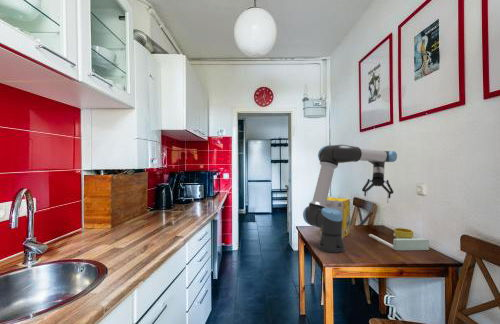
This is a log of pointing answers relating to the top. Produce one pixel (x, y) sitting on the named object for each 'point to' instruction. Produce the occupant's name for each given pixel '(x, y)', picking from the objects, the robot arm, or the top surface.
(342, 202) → the packaging box
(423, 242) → the guide track
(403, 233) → the plant pot
